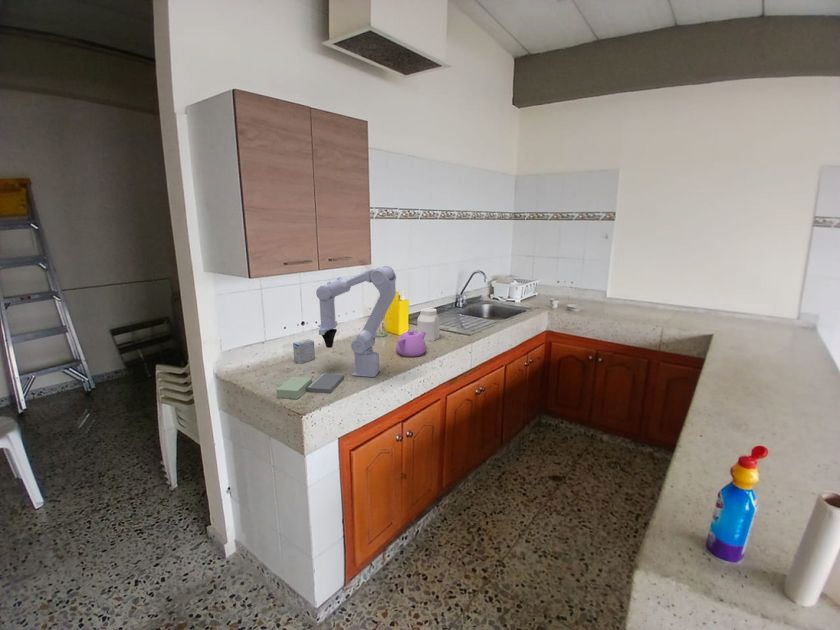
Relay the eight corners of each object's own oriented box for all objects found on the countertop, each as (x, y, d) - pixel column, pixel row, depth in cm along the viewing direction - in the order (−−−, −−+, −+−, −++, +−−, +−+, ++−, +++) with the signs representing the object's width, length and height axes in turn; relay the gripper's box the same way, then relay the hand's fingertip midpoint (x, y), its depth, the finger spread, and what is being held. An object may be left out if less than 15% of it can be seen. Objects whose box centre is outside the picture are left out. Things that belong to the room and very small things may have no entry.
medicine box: (309, 357, 187) (308, 338, 185) (315, 359, 184) (314, 340, 182) (294, 362, 181) (292, 342, 179) (300, 364, 178) (298, 344, 176)
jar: (431, 342, 209) (431, 312, 205) (414, 339, 213) (414, 310, 210) (441, 336, 219) (442, 308, 215) (425, 334, 223) (425, 306, 220)
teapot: (436, 349, 198) (436, 327, 195) (411, 361, 182) (411, 337, 179) (412, 344, 206) (412, 323, 203) (386, 355, 190) (386, 332, 187)
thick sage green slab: (312, 385, 156) (311, 377, 155) (297, 399, 144) (297, 390, 144) (292, 384, 157) (292, 376, 156) (277, 397, 146) (276, 389, 145)
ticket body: (344, 378, 162) (343, 374, 162) (330, 393, 149) (330, 389, 149) (322, 377, 164) (321, 373, 164) (306, 391, 151) (306, 387, 150)
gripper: (325, 310, 175) (326, 341, 178) (310, 318, 161) (312, 352, 164) (341, 311, 174) (342, 342, 177) (328, 319, 160) (329, 353, 163)
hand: (329, 347), depth 170 cm, fingers closed
